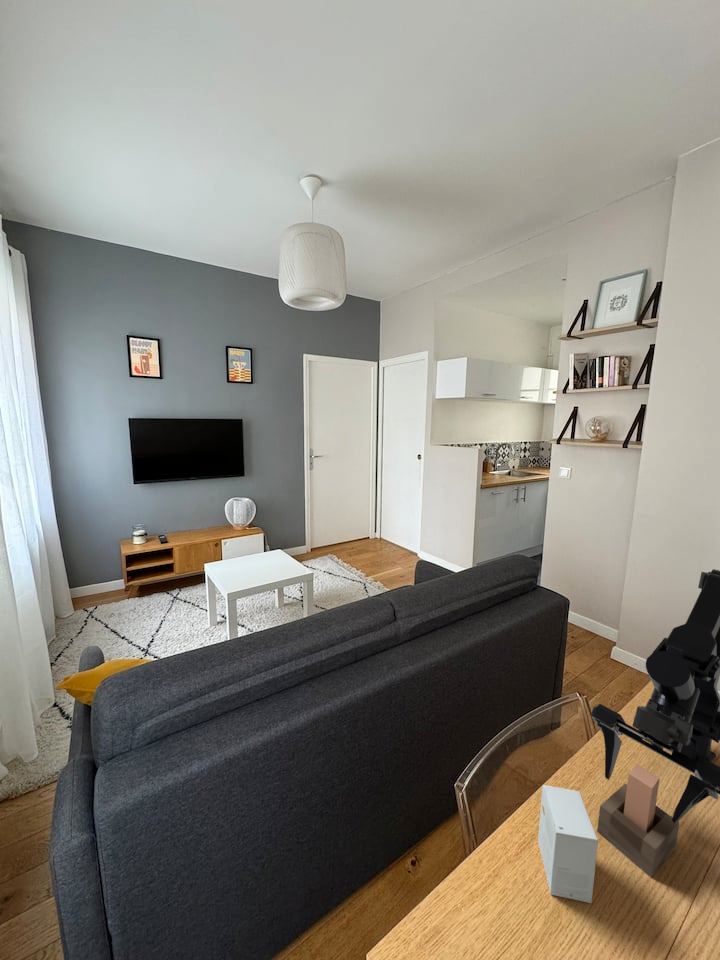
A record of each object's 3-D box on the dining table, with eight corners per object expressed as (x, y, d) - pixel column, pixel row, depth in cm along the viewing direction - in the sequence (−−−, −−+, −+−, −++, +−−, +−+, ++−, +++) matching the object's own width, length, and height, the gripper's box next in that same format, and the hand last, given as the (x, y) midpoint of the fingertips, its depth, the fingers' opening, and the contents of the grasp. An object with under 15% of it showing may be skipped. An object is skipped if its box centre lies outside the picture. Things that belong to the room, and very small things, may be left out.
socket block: (621, 808, 71) (625, 783, 71) (675, 849, 65) (679, 822, 64) (597, 831, 67) (600, 805, 66) (651, 877, 60) (655, 849, 60)
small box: (592, 905, 57) (599, 842, 55) (549, 895, 58) (555, 833, 56) (574, 847, 65) (580, 790, 63) (536, 839, 66) (542, 783, 64)
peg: (628, 821, 68) (636, 763, 66) (651, 837, 65) (659, 777, 64) (621, 832, 66) (628, 773, 64) (643, 849, 64) (652, 788, 62)
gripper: (600, 661, 72) (564, 746, 67) (742, 725, 57) (709, 839, 52) (614, 684, 78) (582, 764, 73) (745, 747, 63) (716, 852, 58)
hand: (638, 799), depth 64 cm, fingers open, 9 cm apart
